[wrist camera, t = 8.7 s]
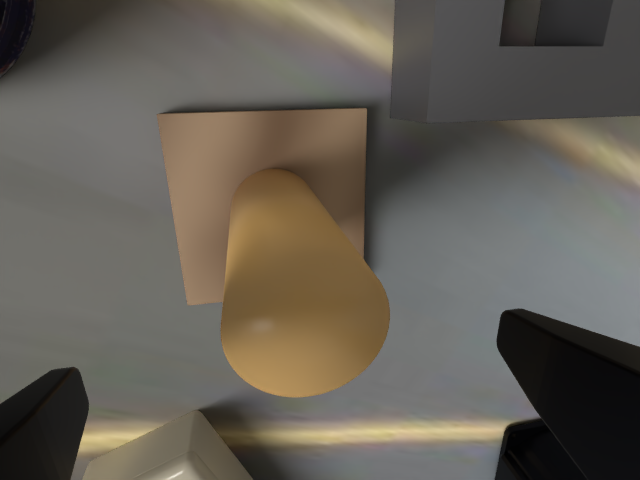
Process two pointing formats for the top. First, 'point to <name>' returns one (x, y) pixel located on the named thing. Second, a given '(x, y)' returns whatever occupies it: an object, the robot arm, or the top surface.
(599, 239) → the top surface
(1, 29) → the storage jar
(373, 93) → the top surface
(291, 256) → the amber plug
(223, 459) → the electrical outlet
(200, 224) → the tan square tile
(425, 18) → the socket block
